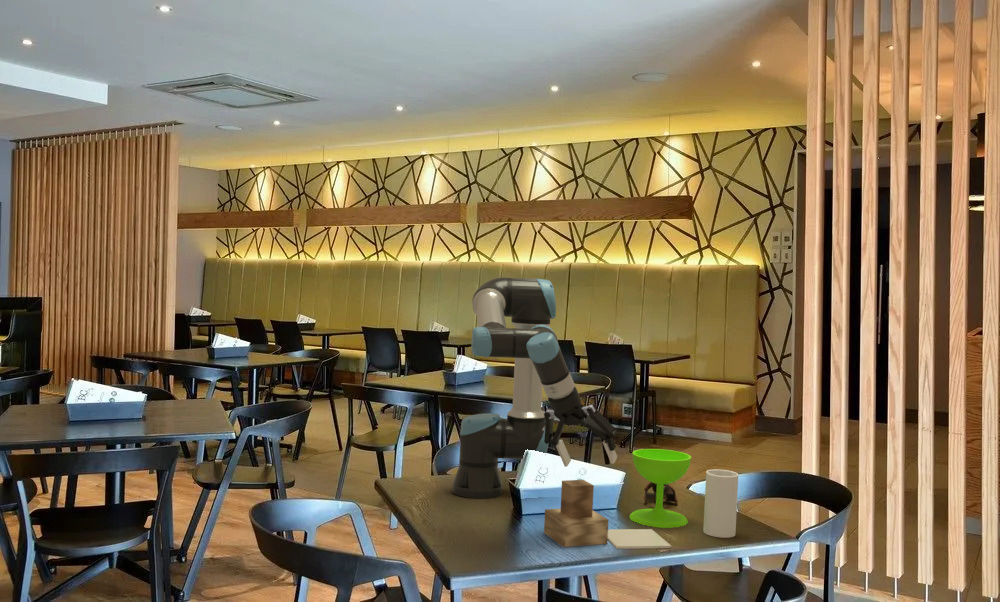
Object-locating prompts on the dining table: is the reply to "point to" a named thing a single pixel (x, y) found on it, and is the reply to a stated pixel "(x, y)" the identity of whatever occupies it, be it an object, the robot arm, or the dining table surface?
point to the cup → (720, 503)
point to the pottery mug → (667, 493)
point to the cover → (576, 517)
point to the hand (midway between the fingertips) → (590, 462)
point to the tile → (636, 539)
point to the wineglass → (660, 484)
